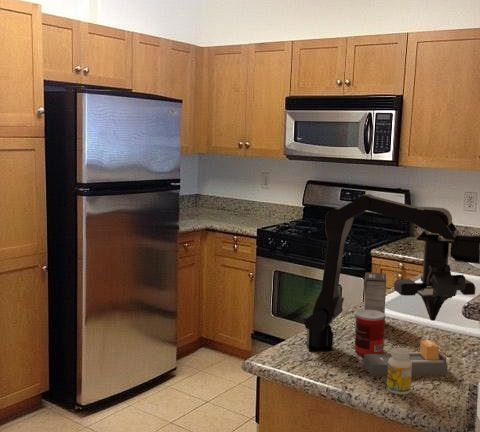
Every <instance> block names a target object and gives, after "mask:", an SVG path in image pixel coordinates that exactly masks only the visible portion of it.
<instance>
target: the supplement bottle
mask: <svg viewBox="0 0 480 432" xmlns="http://www.w3.org/2000/svg"><path fill="white" fill-rule="evenodd" d="M390 351H391V352H390V354H391V355H392V357H390V358H389V360H388V373H387V376H386V380H387V381H386V388H387V390H388V391H389V392H390V393H392V394H396V395H399V396H401V395H402V396H403V395H408V394H409V393H411V388H412V376H411V374H412V362H411V360H410V359H408V358H409V352H410V350H408V349H407V348H403V347H394V348H392V349H391V350H390Z"/></svg>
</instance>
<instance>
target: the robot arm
mask: <svg viewBox="0 0 480 432" xmlns="http://www.w3.org/2000/svg"><path fill="white" fill-rule="evenodd" d="M366 211H368V212H372V213H375V214H379V215H383V216H385V217H390V218H394V219H398V220H402V221H406V222H409V223H411V224H413V225H415V226H417V227H418V228H420V229H422V230H423V231H422V232H421V234H419V235H418V236H417V237H416V240H417V241H420V242H421V241H423V242H424V246H423V247H424V249H423V250H424V251H423V252H424V253H423V260H421V266H423V269H422V270H423V271H422V276H420V281H421V282H415V281H414V280H412V279H409V278H398V279H396V280H395V281H394V283H393V291H395V292H396V293H398V294H399V295H401V296H407V297H408V296H416V294H417V295H419V296H420V298H421V299H422V301H423V304H424V306H425V309H426V312H427V314H428V317H429V320H430V321H433V322H435V321H436V318H437V316H438V314H439V312H440V311H441V308H442V307H443V304H444V303H445V301H447V300H448V299H452V298H453V297H456V296H457V292H458V291H459V292H460V293H461V294H462V295H464V296H475V295H476V285H475V283H473V282H472V281H470V280H468V279H466V276H465V275H464V274H452V273H451V271H452V270H451V265H449V252H450V257H451V258H452V259H454V261H455V262H457V263H466V264H467V263H468V264H477V265H480V234H479V235H478V234H475V235H474V234H473V235H470V234H461V233H460V231H459V230H458V228H457V227H456V226H455V224H454V223H453V216H452V213H451V212H450V211H449V210H448V209H447V208H444V207H434V206H416V205H410V204H408V203H407V204H406V203H402V202H399V201H395V200H390V199H386V198H383V197H379V196H374V195H372V194H370V193H365V194H362V195H359V196H358V197H357V198H356V199H354V200H353V201H351V202H349V203H347V204H345V205H343V206H339V207H335V208H333V209H330V210H328V212H327V213H326V214H325V217H324V224H325V225H324V229H325V230H324V231H325V234H326V238H327V245H326V253H325V260H324V267H323V273H322V282H321V289H320V292H319V294H318V296H317V298H316V301H315V303H314V306H313V309H312V313H311V315H310V316H309V317H307V318H306V319H305V320H304V321H303V322H304V327H305V329H306V340H305V342H304V343H305V345H306V347H307V349H308V351H309V352H324V351H326V352H327V351H328V352H331V351H332V352H333V345H334V331H333V329H332V326H331V325H332V324H333V322H334V321H335V319H336V318H338V317H339V316H340V314H342V312H343V304H344V300H345V297H344V296H343V297H341V296H340V295H339V286H340V285H339V282H340V276H341V271H342V263H343V256H344V249H345V242H346V240H347V237H348V235H349V233H350V232H351V228H352V225H353V223H354V219H355V218H357V217H358V216H360V215H362V214H363V213H365V212H366Z"/></svg>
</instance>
